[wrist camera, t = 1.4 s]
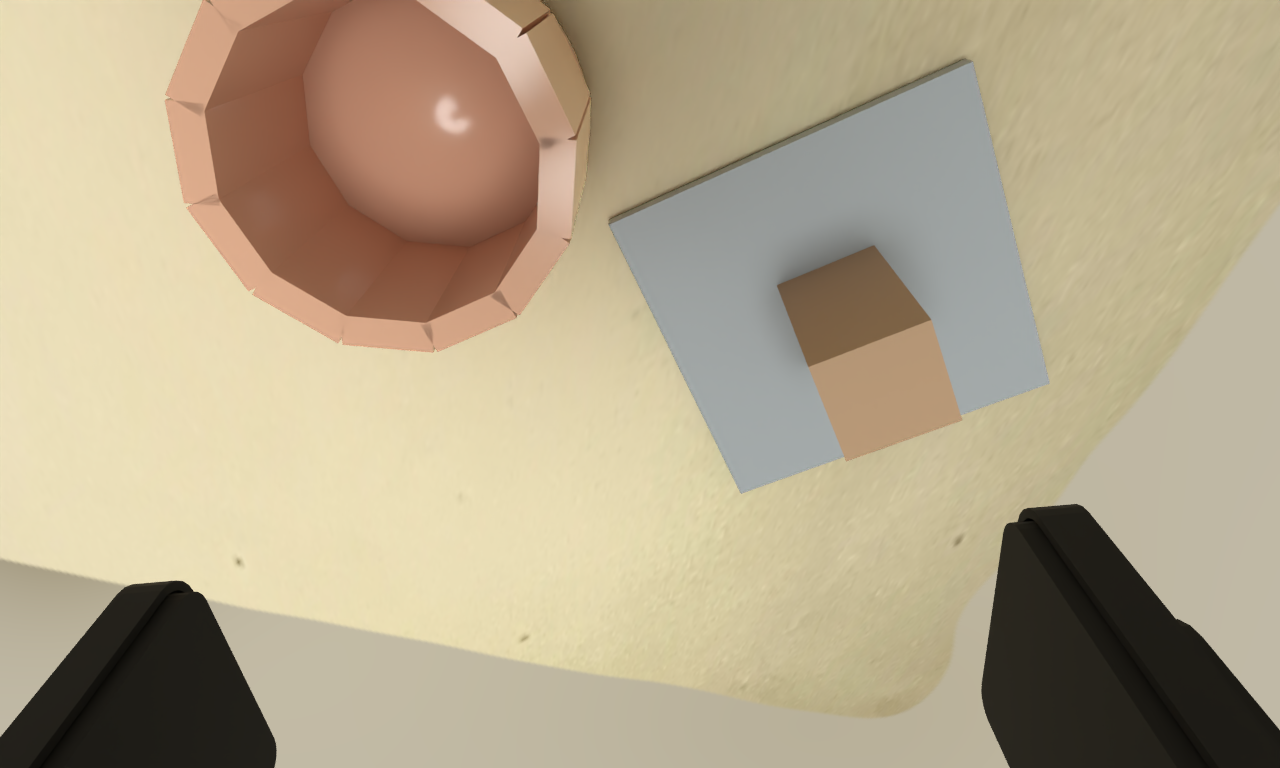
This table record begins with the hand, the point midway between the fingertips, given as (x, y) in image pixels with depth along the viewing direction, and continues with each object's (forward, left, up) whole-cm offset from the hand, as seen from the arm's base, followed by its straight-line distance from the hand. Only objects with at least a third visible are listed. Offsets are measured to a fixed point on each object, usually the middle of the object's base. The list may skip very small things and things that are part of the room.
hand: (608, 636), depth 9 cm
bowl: (+6, -4, -23) cm, 24 cm away
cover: (-5, +9, -24) cm, 26 cm away
